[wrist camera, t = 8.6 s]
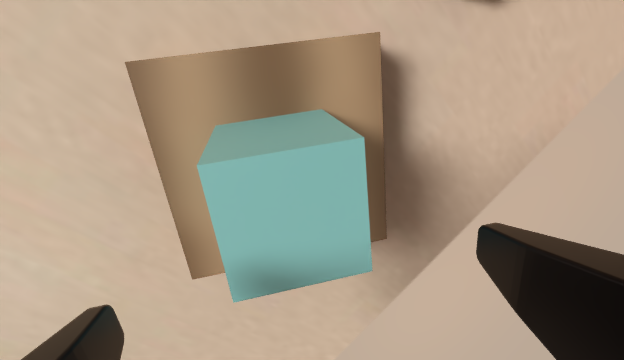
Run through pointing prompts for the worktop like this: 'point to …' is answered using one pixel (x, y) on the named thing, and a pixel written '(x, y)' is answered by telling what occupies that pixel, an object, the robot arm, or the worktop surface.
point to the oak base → (254, 116)
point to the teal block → (287, 202)
